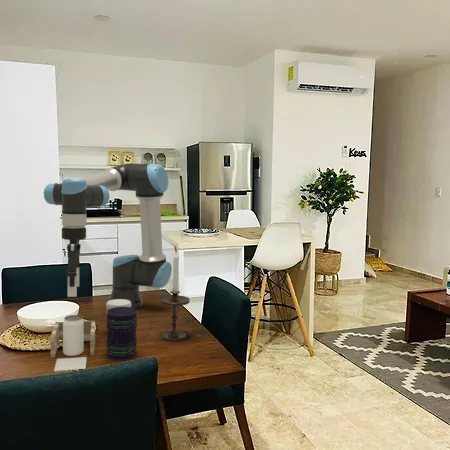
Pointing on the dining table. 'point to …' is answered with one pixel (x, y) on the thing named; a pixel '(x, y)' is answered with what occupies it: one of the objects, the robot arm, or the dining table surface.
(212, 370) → the dining table surface
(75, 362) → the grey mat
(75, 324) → the can
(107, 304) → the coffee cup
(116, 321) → the storage jar
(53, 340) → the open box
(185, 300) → the candlestick
